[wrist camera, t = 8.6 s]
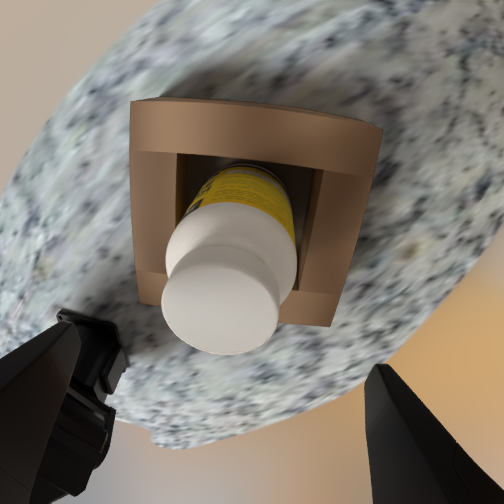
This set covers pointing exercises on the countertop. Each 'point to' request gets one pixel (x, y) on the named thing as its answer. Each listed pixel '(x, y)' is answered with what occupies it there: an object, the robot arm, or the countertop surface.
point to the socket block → (264, 155)
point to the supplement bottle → (231, 262)
